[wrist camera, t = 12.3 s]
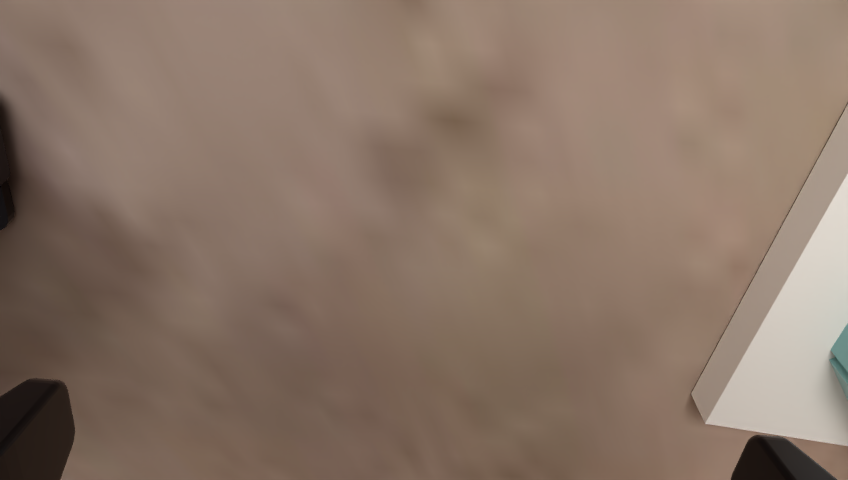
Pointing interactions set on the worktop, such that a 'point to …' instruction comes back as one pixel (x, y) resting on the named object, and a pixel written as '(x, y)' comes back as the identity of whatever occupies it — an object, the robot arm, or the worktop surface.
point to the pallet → (792, 321)
